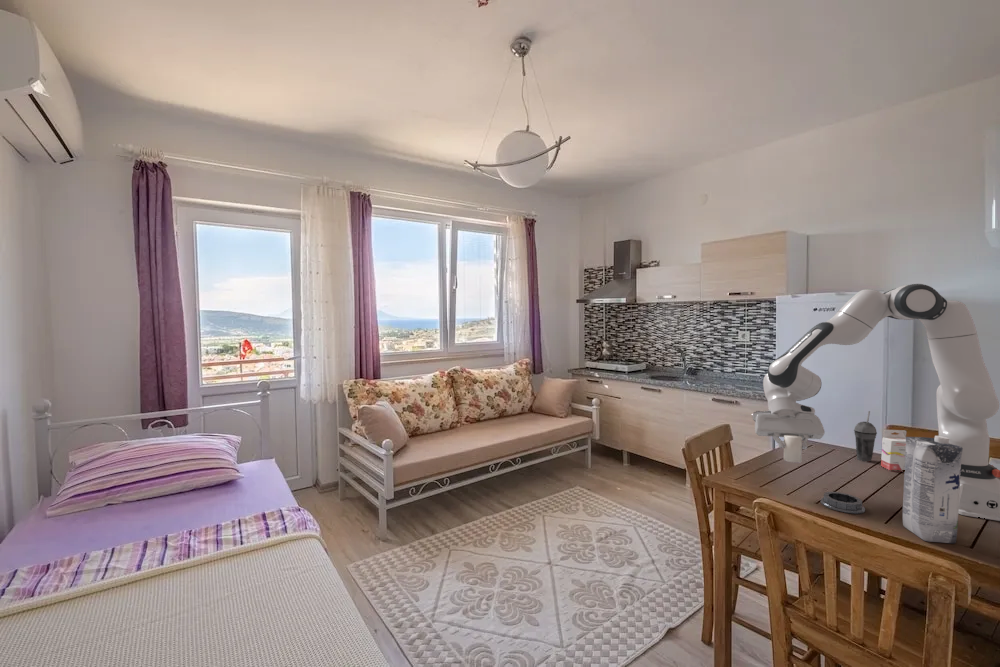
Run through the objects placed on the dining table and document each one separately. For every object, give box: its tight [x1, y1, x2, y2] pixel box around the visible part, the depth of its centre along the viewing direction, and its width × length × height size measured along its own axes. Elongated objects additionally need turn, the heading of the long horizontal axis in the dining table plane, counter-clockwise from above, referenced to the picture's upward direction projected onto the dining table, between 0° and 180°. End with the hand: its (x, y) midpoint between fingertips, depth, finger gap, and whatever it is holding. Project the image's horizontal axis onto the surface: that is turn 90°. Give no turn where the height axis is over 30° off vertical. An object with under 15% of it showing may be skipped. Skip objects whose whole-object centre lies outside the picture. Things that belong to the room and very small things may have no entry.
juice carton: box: [902, 435, 963, 544], centre depth 122 cm, size 9×10×27 cm
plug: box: [783, 434, 803, 464], centre depth 152 cm, size 5×5×8 cm
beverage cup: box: [853, 410, 878, 462], centre depth 184 cm, size 7×7×20 cm
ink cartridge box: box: [880, 429, 907, 471], centre depth 173 cm, size 9×5×15 cm, turn 84°
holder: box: [820, 491, 866, 515], centre depth 141 cm, size 11×11×3 cm
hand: (793, 447), depth 151 cm, fingers closed on plug, 5 cm apart
